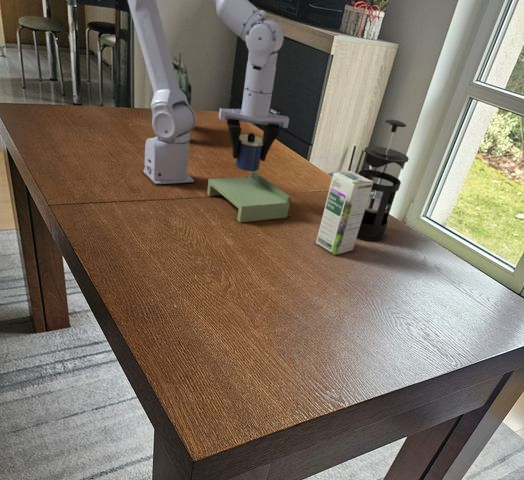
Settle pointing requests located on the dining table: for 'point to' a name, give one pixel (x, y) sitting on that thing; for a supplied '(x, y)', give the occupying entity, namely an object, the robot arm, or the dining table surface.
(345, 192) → the syrup box
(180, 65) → the green leafy plant
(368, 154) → the french press
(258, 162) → the pot
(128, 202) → the dining table surface
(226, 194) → the shelf
